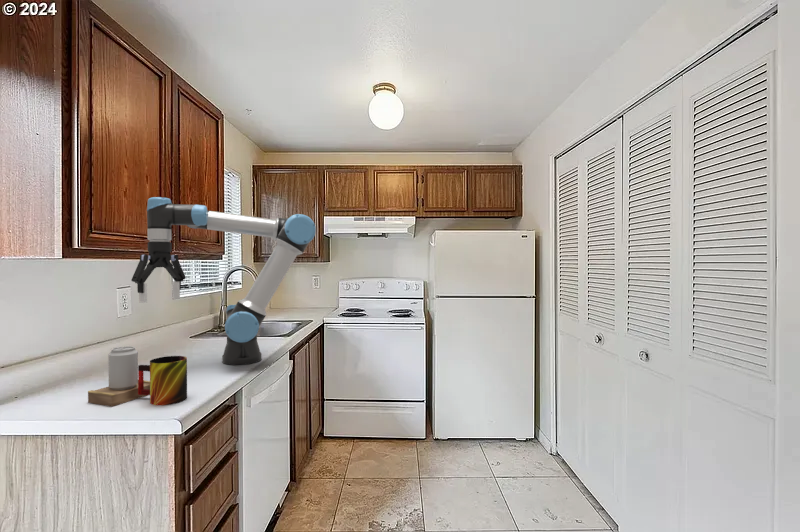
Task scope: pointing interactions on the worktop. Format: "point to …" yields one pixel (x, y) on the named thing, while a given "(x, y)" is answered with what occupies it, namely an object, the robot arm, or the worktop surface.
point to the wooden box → (115, 395)
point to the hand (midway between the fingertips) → (160, 300)
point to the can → (123, 367)
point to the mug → (165, 380)
